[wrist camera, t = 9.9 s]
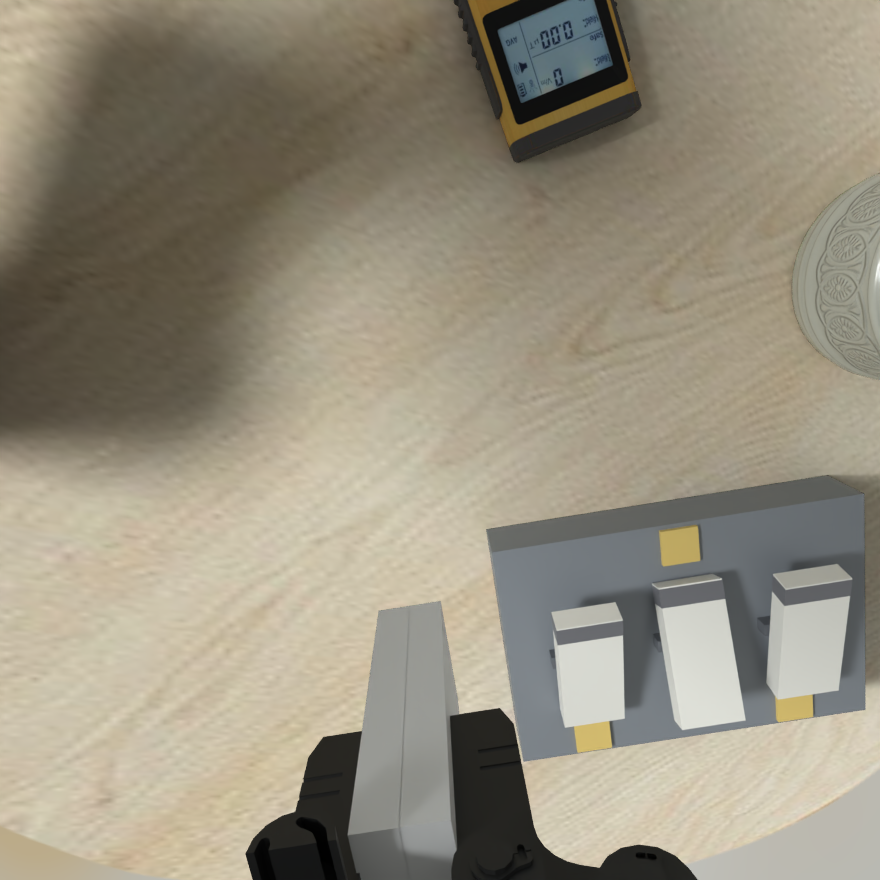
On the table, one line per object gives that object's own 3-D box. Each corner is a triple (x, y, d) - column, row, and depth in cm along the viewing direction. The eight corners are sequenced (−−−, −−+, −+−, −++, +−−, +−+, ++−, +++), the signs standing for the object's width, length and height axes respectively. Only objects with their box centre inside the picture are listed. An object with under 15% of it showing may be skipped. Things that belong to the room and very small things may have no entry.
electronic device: (552, -166, 37) (564, -209, 34) (635, 116, 41) (653, 101, 38) (413, -105, 38) (412, -142, 35) (507, 168, 41) (514, 158, 38)
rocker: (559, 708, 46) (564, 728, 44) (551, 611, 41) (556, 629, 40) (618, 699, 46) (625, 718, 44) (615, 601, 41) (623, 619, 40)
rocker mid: (673, 720, 43) (682, 730, 42) (651, 583, 43) (658, 588, 42) (735, 710, 43) (746, 720, 42) (712, 573, 43) (722, 578, 42)
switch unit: (516, 724, 51) (525, 772, 46) (486, 529, 47) (493, 558, 42) (831, 676, 50) (874, 719, 45) (827, 475, 46) (874, 498, 41)
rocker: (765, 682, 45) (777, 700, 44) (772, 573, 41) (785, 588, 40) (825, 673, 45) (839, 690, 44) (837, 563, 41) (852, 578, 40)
